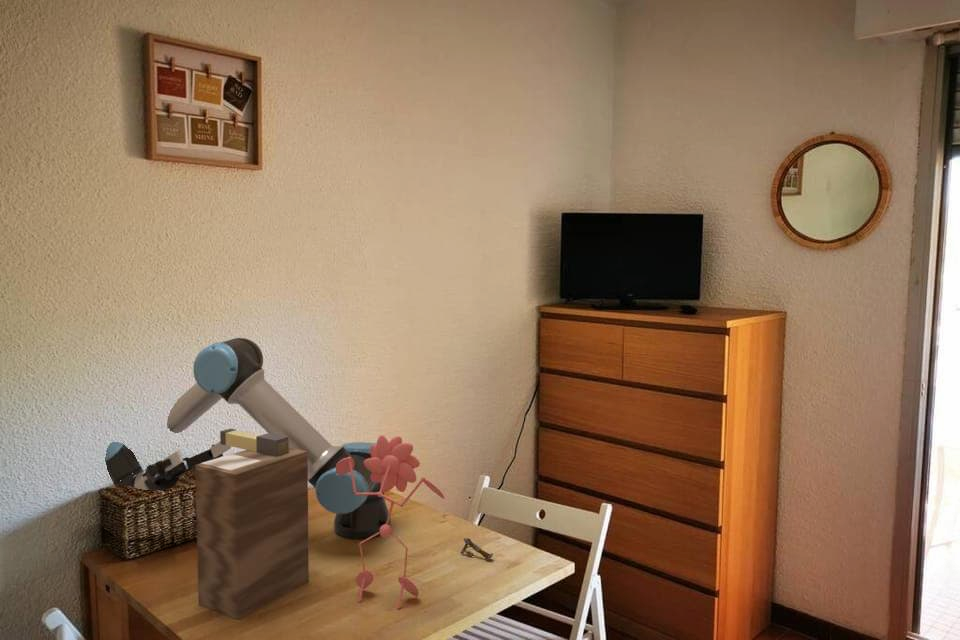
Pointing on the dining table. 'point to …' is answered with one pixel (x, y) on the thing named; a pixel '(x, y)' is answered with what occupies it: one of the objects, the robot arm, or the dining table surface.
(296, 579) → the tall wood-grain block
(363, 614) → the dining table surface
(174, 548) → the dining table surface
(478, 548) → the wooden post with brackets
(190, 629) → the dining table surface
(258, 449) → the marker
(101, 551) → the dining table surface
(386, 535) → the figurine
